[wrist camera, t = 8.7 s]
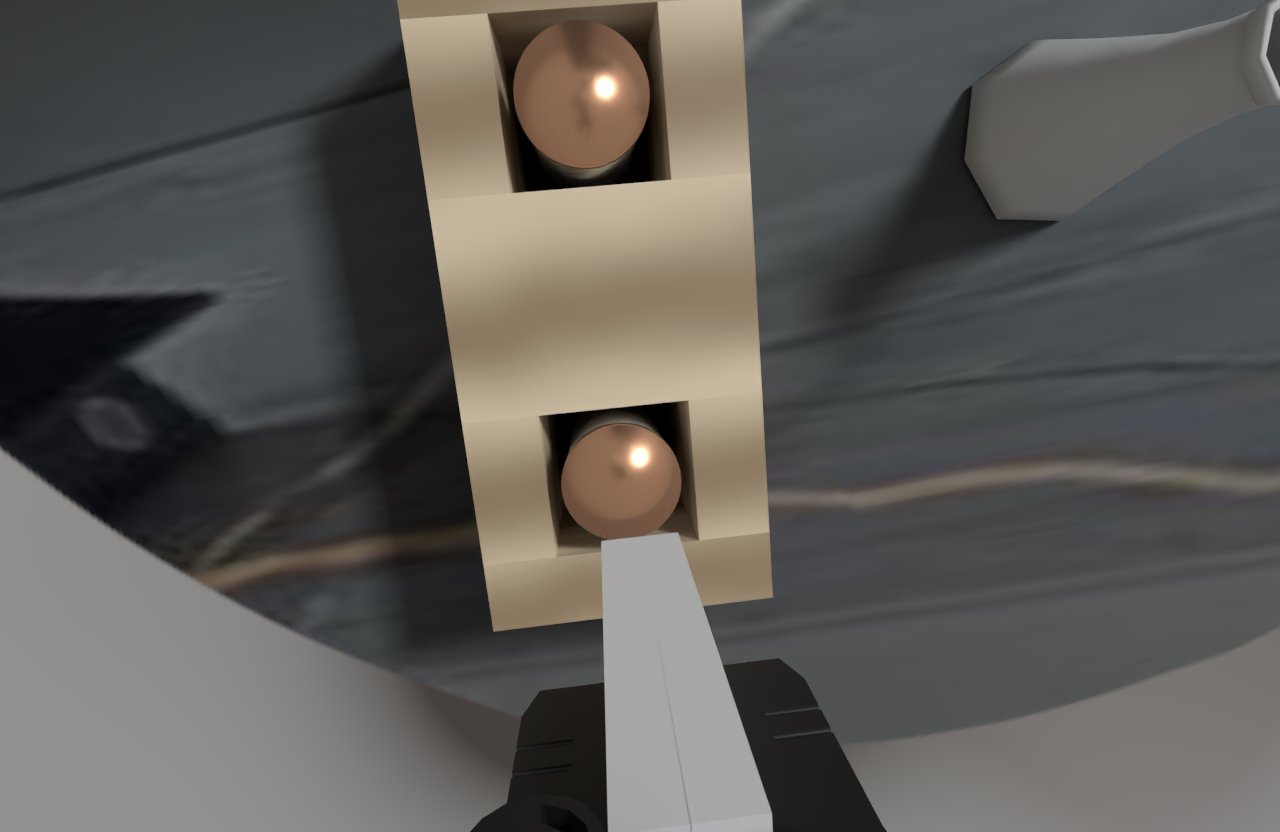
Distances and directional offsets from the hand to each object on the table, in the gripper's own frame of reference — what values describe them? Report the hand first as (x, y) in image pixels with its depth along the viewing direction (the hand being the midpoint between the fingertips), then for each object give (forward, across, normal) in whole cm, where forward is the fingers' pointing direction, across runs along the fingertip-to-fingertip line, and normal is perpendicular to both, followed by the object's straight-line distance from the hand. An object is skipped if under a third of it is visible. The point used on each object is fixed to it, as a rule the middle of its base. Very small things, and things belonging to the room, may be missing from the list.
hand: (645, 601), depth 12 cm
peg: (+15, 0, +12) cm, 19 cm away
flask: (+16, +19, +10) cm, 27 cm away
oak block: (+15, 0, +6) cm, 16 cm away
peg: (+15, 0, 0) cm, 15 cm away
